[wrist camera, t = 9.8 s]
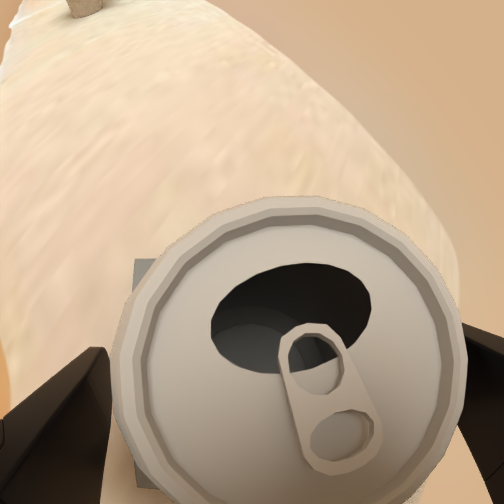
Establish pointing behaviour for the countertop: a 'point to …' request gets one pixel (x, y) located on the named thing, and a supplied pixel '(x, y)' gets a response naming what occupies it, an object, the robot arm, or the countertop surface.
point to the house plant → (84, 7)
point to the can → (289, 359)
